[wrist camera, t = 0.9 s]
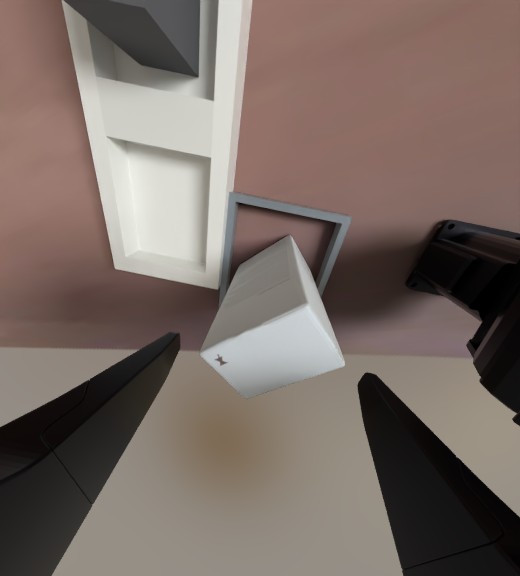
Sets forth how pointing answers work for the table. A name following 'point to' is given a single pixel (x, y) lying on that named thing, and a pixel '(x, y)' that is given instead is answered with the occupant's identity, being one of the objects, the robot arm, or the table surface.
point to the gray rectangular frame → (237, 198)
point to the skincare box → (271, 325)
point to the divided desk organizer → (165, 144)
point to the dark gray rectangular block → (149, 30)
